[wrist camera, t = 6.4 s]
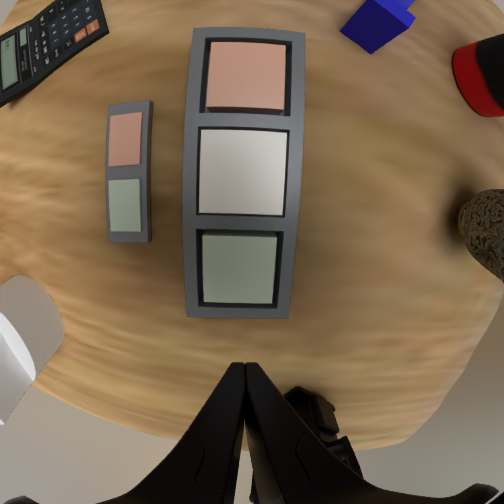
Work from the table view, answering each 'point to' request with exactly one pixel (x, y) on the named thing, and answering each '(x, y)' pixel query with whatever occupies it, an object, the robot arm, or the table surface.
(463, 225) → the cup
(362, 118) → the table surface
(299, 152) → the keypad
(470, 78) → the soda can
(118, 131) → the strip
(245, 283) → the sage key
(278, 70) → the terracotta key
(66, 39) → the calculator
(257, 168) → the cream key
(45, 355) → the cylinder with rectangular tab
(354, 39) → the cable clip
